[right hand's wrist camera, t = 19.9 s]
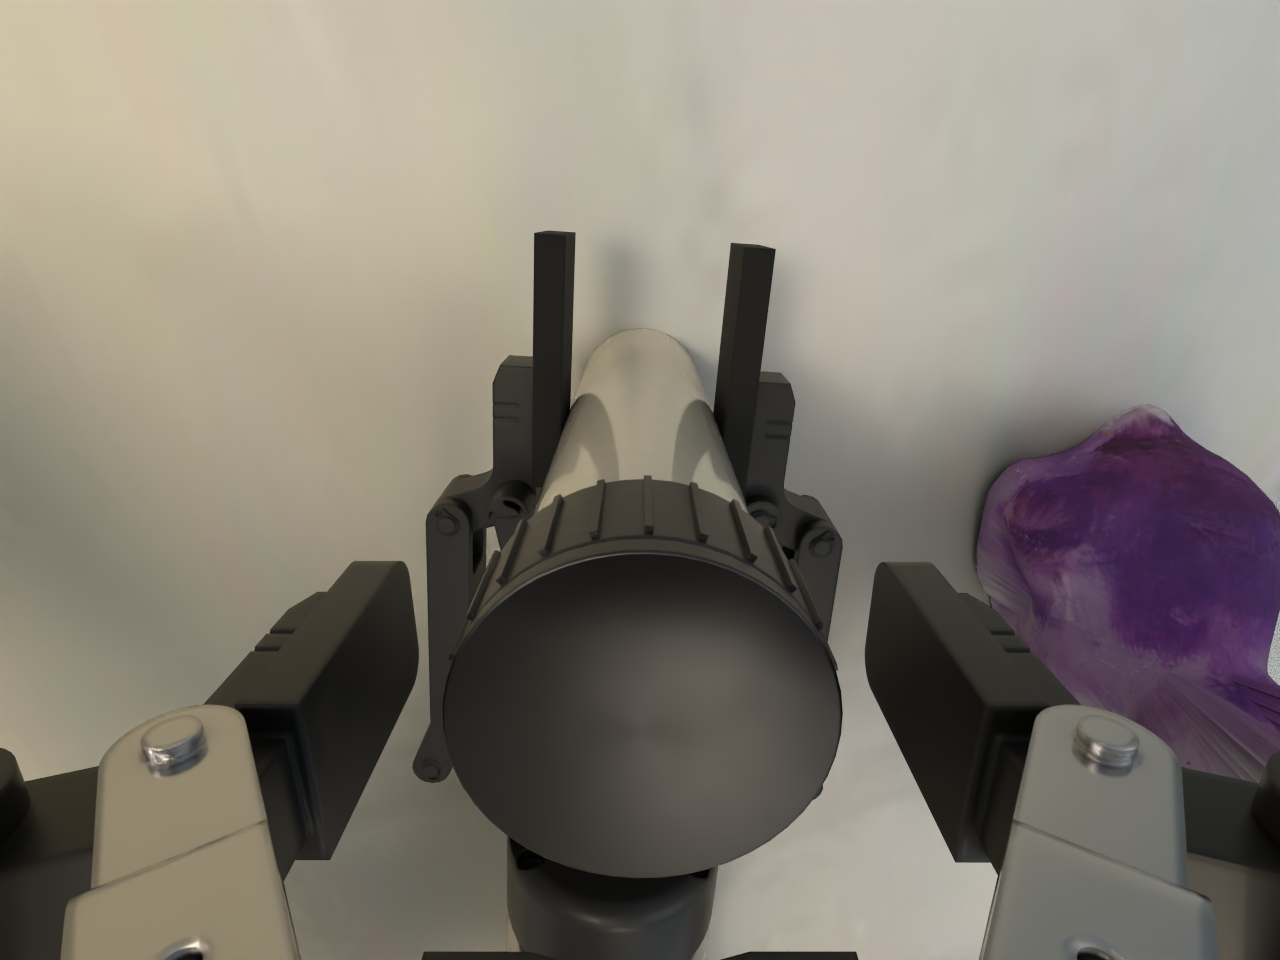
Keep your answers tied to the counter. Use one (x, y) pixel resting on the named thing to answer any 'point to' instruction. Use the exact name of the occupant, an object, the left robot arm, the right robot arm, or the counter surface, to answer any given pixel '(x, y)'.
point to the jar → (640, 422)
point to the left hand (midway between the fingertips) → (654, 241)
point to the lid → (642, 683)
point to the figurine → (1146, 585)
